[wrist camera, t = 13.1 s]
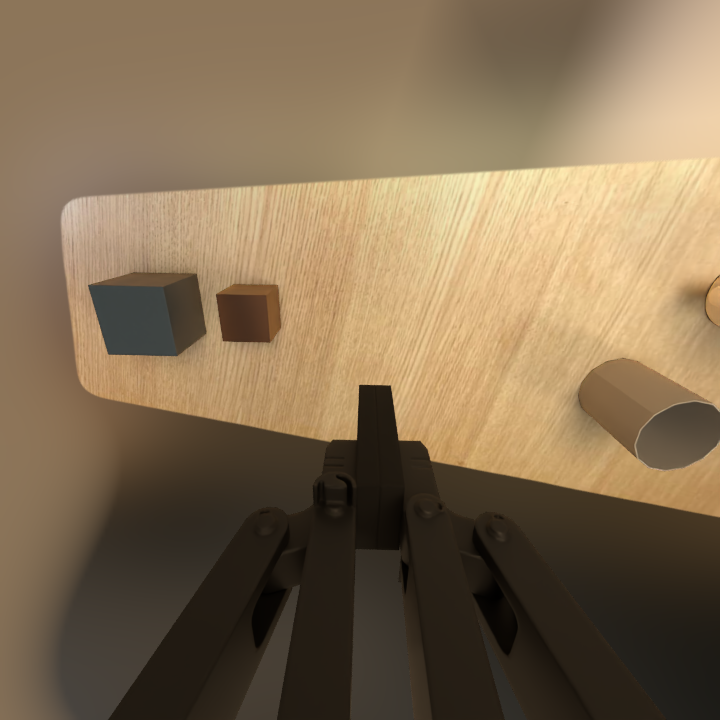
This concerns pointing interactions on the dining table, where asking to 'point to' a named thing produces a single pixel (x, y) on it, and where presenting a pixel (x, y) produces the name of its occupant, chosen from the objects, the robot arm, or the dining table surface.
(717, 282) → the mug
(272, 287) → the walnut block
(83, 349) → the dining table surface
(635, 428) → the cup
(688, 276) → the dining table surface
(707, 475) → the dining table surface
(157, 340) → the slate block
